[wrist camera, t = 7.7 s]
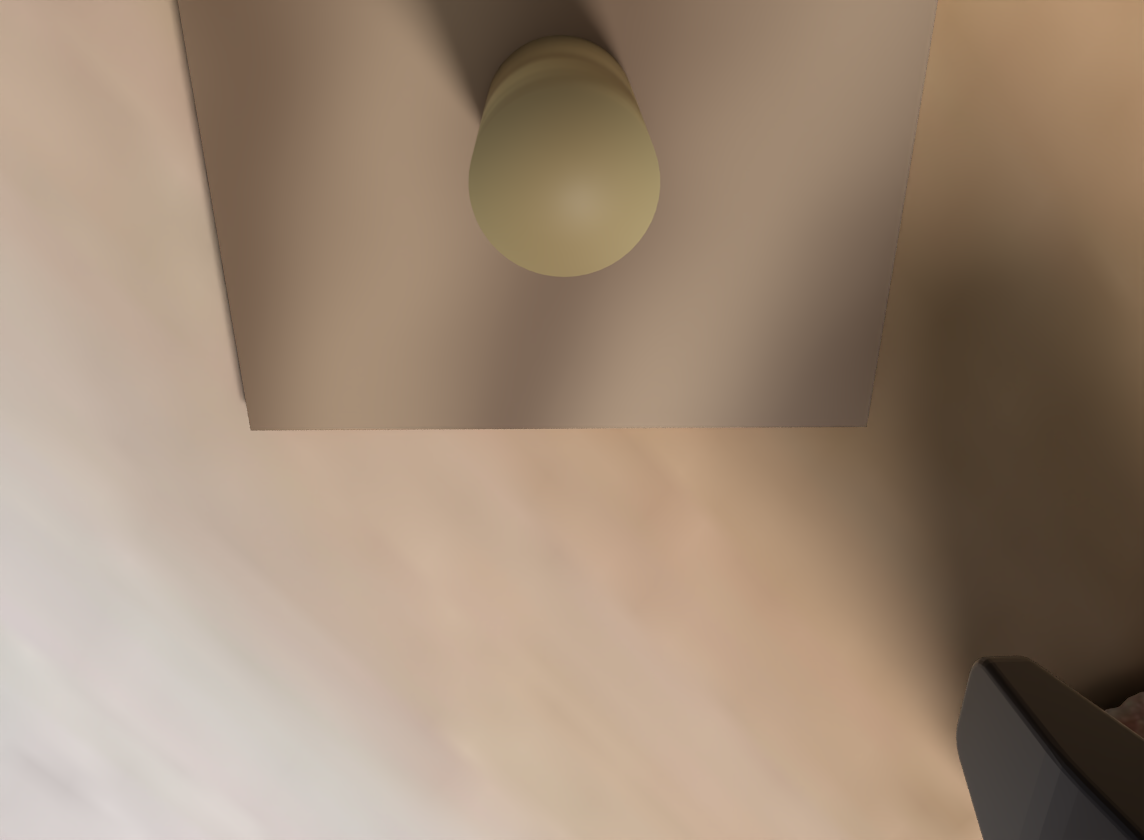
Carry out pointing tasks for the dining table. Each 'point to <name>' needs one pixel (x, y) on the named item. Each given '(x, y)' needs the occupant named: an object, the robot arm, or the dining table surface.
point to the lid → (557, 206)
